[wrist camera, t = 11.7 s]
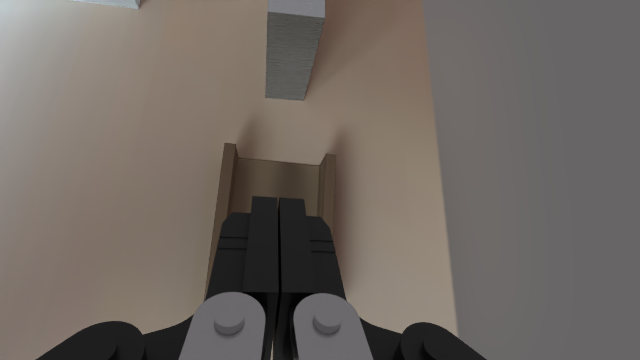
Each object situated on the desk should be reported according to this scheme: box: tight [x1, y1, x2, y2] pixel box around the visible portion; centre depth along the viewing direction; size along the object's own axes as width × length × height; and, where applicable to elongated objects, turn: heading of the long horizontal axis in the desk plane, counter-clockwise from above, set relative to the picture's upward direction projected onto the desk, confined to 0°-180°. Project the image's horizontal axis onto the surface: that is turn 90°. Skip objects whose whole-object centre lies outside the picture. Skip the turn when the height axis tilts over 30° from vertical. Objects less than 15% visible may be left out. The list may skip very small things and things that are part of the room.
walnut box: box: [204, 143, 336, 300], centre depth 26 cm, size 9×14×4 cm, turn 177°
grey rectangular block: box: [265, 0, 325, 101], centre depth 27 cm, size 4×10×11 cm, turn 0°
